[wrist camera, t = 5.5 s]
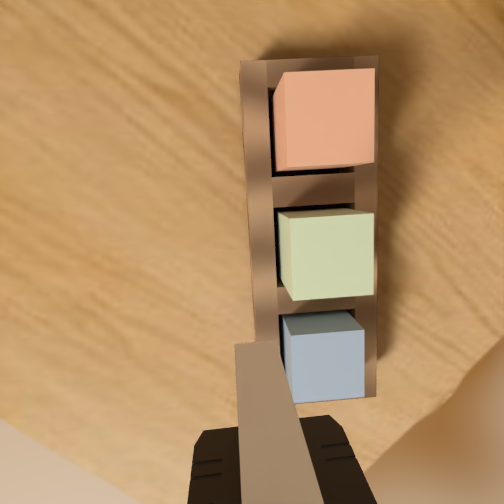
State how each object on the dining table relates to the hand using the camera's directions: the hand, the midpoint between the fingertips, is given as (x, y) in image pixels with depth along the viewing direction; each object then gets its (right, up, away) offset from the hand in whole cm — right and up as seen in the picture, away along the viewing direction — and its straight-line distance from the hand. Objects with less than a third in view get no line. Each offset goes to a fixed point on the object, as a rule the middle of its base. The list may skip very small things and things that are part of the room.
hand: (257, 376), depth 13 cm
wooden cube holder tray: (+5, +6, +21) cm, 23 cm away
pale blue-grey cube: (+6, -4, +23) cm, 24 cm away
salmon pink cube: (+5, +15, +17) cm, 23 cm away
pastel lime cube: (+5, +5, +19) cm, 21 cm away
